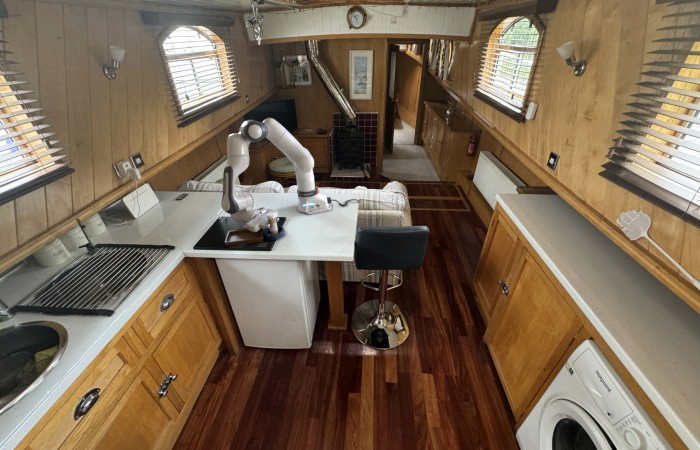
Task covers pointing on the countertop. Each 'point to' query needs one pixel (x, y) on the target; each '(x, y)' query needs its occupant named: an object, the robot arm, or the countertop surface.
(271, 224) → the sprinkles bottle
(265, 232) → the enamel pot
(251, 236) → the tray
